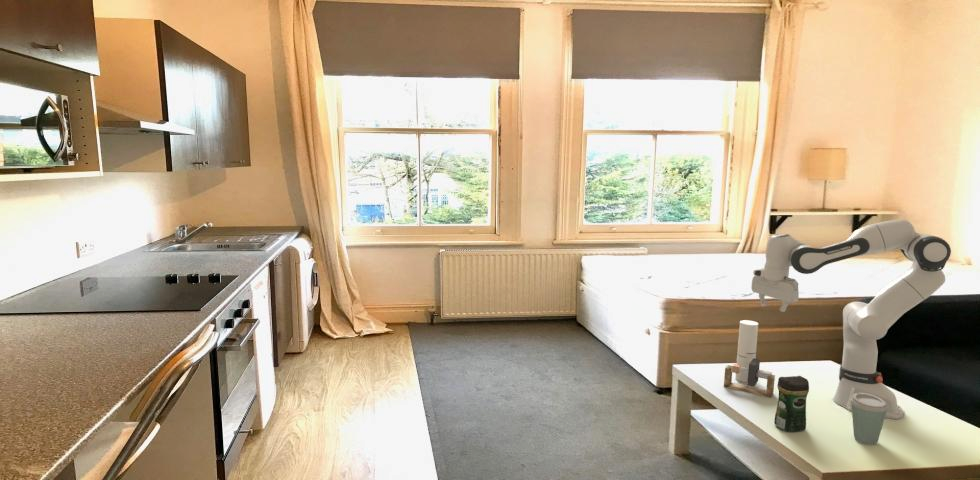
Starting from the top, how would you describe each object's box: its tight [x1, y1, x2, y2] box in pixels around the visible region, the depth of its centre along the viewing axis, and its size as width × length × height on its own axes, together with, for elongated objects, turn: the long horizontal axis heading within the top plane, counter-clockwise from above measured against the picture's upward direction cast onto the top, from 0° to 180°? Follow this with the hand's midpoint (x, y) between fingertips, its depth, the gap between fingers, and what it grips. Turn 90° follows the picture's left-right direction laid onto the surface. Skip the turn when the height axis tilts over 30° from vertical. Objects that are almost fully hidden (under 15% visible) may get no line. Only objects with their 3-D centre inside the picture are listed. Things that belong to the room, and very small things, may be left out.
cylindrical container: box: [735, 319, 759, 383], centre depth 242 cm, size 7×7×25 cm
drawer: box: [723, 364, 776, 398], centre depth 231 cm, size 18×4×8 cm, turn 54°
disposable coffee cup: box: [850, 393, 888, 446], centre depth 190 cm, size 11×11×15 cm
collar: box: [746, 358, 761, 388], centre depth 230 cm, size 2×8×9 cm, turn 144°
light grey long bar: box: [728, 363, 773, 380], centre depth 231 cm, size 16×3×3 cm, turn 54°
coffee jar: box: [774, 375, 810, 433], centre depth 199 cm, size 10×8×19 cm
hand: (772, 308), depth 228 cm, fingers open, 8 cm apart
